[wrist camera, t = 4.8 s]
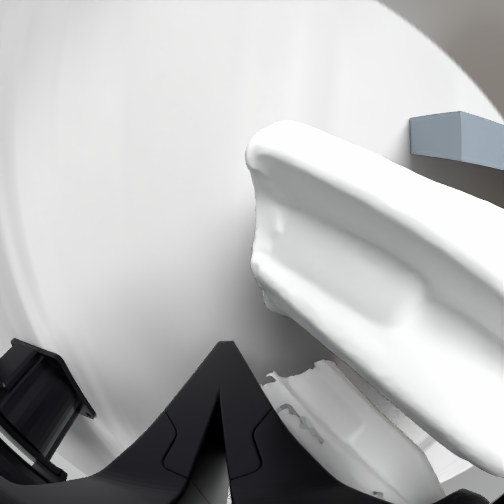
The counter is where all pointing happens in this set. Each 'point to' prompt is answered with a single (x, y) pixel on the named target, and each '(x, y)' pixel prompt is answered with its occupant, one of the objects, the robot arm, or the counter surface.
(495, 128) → the corner fence
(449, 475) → the counter surface
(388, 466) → the salt and pepper shakers
